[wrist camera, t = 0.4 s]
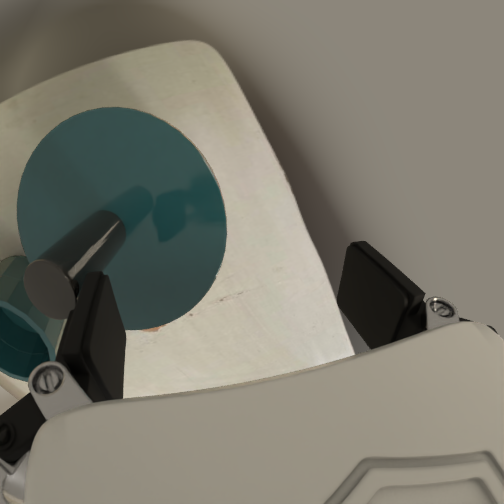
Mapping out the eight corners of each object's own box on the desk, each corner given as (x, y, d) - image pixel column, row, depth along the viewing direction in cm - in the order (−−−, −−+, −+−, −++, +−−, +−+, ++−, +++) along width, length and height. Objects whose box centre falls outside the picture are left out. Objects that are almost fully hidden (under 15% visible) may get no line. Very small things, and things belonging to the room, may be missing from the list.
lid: (6, 140, 12) (-74, 162, 6) (216, 87, 12) (204, 55, 6) (56, 325, 17) (16, 392, 11) (237, 320, 17) (242, 409, 11)
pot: (-21, 264, 23) (-51, 303, 16) (49, 246, 26) (22, 290, 19) (17, 338, 29) (0, 381, 22) (85, 330, 31) (74, 380, 24)
